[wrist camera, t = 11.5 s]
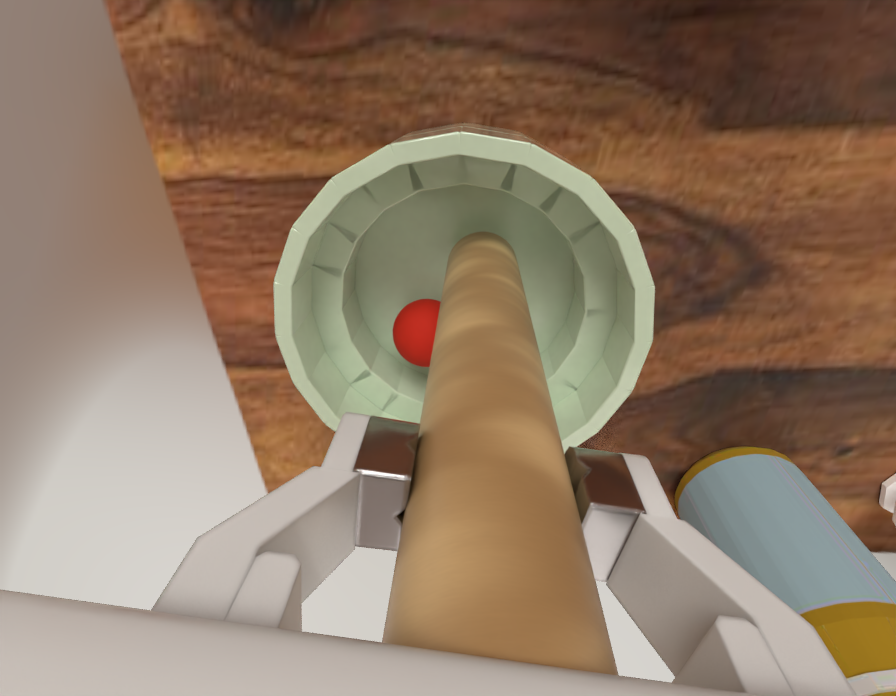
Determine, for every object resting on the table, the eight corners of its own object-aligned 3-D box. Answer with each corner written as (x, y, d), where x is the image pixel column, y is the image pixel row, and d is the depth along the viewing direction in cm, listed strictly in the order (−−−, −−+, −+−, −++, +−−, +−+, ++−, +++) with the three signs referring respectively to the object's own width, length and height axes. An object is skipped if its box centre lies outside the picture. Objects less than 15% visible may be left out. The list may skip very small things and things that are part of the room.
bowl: (657, 153, 20) (721, 174, 15) (567, 420, 27) (589, 500, 22) (322, 97, 20) (266, 98, 15) (317, 382, 27) (278, 453, 21)
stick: (523, 237, 20) (715, 814, 4) (509, 302, 21) (606, 920, 5) (452, 226, 20) (356, 766, 4) (443, 292, 21) (343, 886, 5)
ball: (467, 294, 23) (465, 322, 20) (456, 351, 24) (453, 384, 22) (401, 283, 23) (390, 310, 20) (395, 341, 24) (384, 374, 22)
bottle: (694, 432, 27) (902, 759, 14) (815, 447, 27) (1140, 787, 14) (655, 518, 30) (792, 847, 17) (763, 531, 30) (984, 870, 17)
